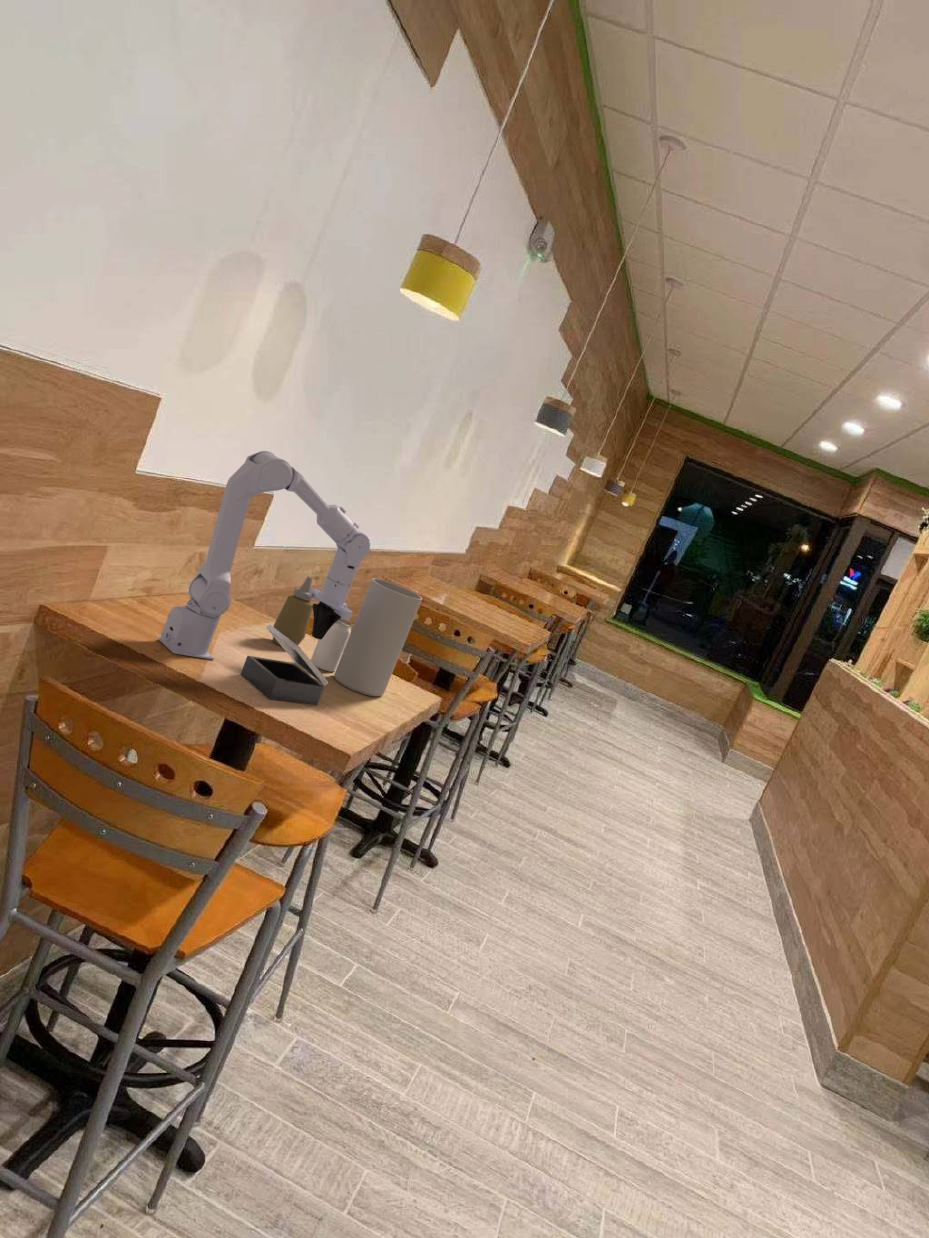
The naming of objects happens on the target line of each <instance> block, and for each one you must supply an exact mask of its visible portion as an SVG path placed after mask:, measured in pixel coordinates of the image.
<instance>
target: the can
mask: <svg viewBox="0 0 929 1238" xmlns="http://www.w3.org/2000/svg"><path fill="white" fill-rule="evenodd" d="M351 627H352V624H351V623H350V622H349V621H348V620H346V619H342V618H341V619H339V620H338V621H337V622H336V623H334V624H333V625H332V627H331V628H330V629H329V630H328V631H327V633H326V634H325V636H324V637H323V638H322V639H318V640H317V643H316V645H315V647H314V651H313V653H312V656H311V658H310V660H311V662H312V663H313V664H314V665H315V666H316V668H317V669H318V670H321V671H325V672H327V673H335V671H336V669H337V666H338V664H339V661H340V659H341V656H342V654H343V651H344V649H345V646H346V644H347V641H348V639H349V636H350V634H351V631H352V628H351Z"/></svg>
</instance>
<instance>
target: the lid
mask: <svg viewBox="0 0 929 1238" xmlns="http://www.w3.org/2000/svg"><path fill="white" fill-rule="evenodd" d="M266 629H267V631H268V632H269V633H270V634H271V635H272V637H273V636H274V638H275V639H276V640H277V641H278V642H279V644H280V645H281V646H280V645H279V646H280V647H282V649H283V650H284V651H285V652H286V654H288V656H289V658H291V660H293V663H295V664H296V665H298V666H299V667H300V668H301V669H303V670H304V671H305V672H306V673H308V674H309V675H310V676H312V677H313V678H314V679H315V680H317V681H318V682H319V683H320V684H322V685H323V686H324V687H325V686H327V684H329V681H328V680H327V679H326V677H325V676H324V675H323V674H322V673H321V671H320V669H319V668H317V667H316V666H315V665H314V664H313V663H312V662H311V658H309V656H308V655H307V654H306V653H305V652H304V650H303V649H302V648H301V647H300V646H299V645H297V644H296V643H295V642H294V641H292V640H291V639H290V638H288V637H287V636H286V635H285V634H283V633H282V632H281V631H279V630H278V629H277V628H274V625H271V624H269V625H267V626H266Z"/></svg>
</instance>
